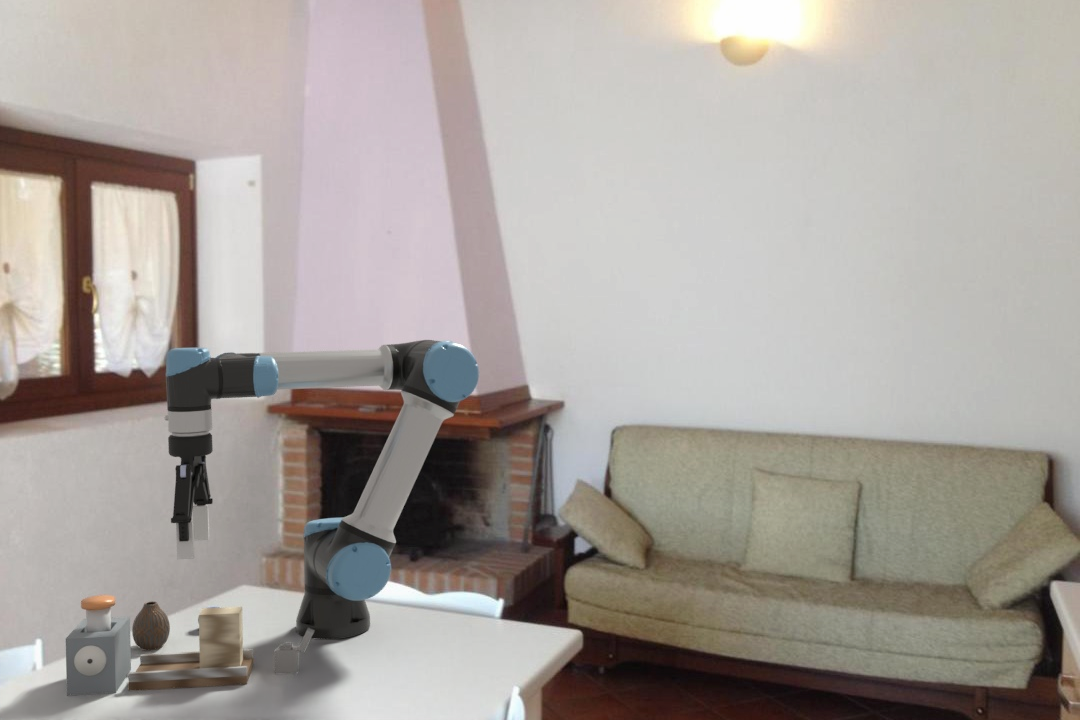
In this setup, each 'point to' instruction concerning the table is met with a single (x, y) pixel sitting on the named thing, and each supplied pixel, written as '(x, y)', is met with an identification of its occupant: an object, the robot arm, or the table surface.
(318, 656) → the table surface
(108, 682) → the cabinet
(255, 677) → the table surface
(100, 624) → the plunger
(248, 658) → the rail board
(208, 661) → the beige wooden block
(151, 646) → the vase
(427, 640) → the table surface
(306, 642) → the lighter
